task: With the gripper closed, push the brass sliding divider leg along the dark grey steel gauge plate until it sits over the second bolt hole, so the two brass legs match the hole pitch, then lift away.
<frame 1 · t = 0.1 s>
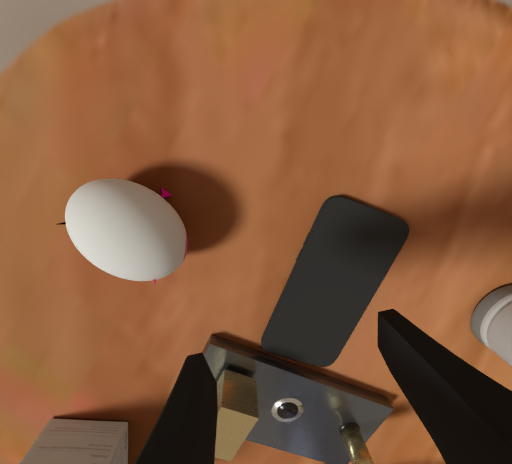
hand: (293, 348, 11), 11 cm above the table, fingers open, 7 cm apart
supplement box: (93, 442, 26), on the table
phone: (326, 285, 23), on the table
stress ball: (143, 224, 20), on the table
divider leg: (227, 413, 21), point 3 cm above the table, slide at 6.0 cm
gauge plate: (282, 401, 26), on the table
travel mug: (499, 311, 24), on the table
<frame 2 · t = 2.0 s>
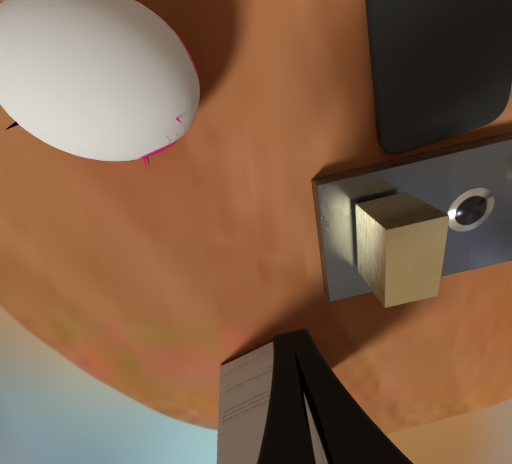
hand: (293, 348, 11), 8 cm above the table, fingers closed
supplement box: (273, 368, 24), on the table
stress ball: (133, 101, 13), on the table
divider leg: (395, 248, 15), point 3 cm above the table, slide at 6.0 cm
gauge plate: (454, 210, 18), on the table
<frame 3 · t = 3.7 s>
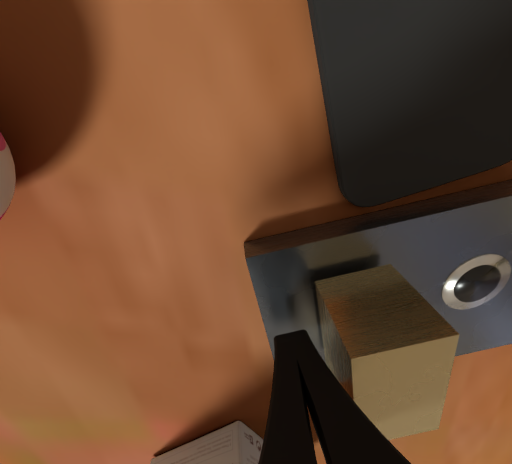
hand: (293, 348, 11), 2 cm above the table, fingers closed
supplement box: (224, 454, 19), on the table
divider leg: (374, 352, 10), point 3 cm above the table, slide at 5.6 cm, touching gripper
gauge plate: (453, 275, 13), on the table
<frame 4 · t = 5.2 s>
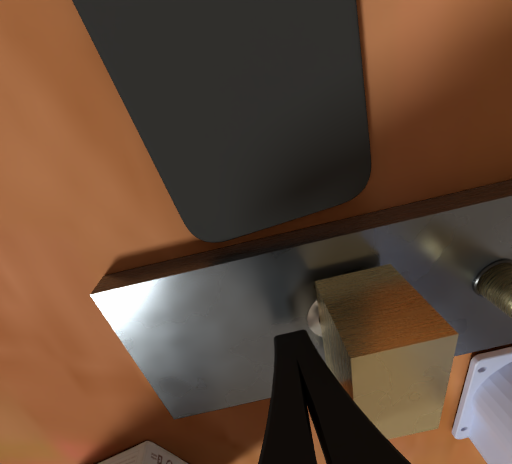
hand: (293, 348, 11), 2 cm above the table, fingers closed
divider leg: (373, 351, 10), point 3 cm above the table, slide at -0.5 cm, touching gripper
gauge plate: (331, 303, 13), on the table
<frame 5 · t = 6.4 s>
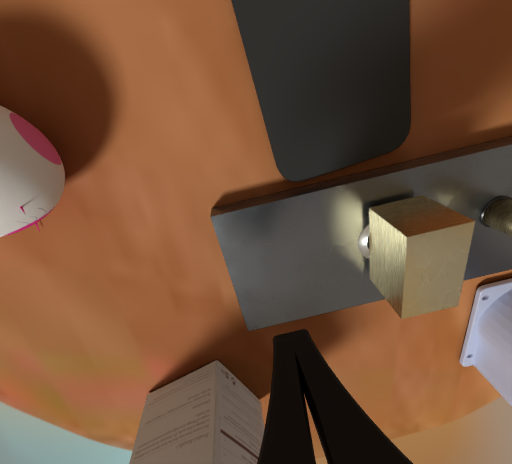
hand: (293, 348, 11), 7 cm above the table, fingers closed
supplement box: (207, 393, 23), on the table
phone: (315, 3, 12), on the table
stress ball: (16, 166, 13), on the table
divider leg: (412, 255, 14), point 3 cm above the table, slide at -0.5 cm
gauge plate: (372, 236, 17), on the table
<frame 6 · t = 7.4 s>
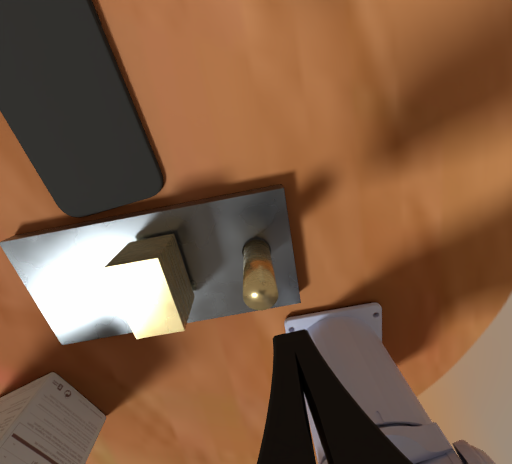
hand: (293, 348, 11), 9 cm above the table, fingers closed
supplement box: (55, 405, 25), on the table
phone: (64, 86, 16), on the table
divider leg: (155, 284, 16), point 3 cm above the table, slide at -0.5 cm
gauge plate: (165, 266, 20), on the table
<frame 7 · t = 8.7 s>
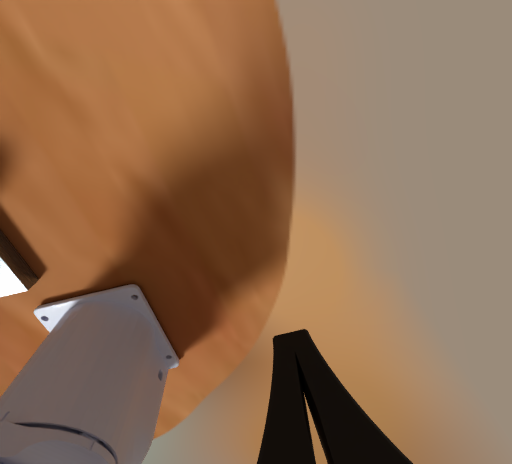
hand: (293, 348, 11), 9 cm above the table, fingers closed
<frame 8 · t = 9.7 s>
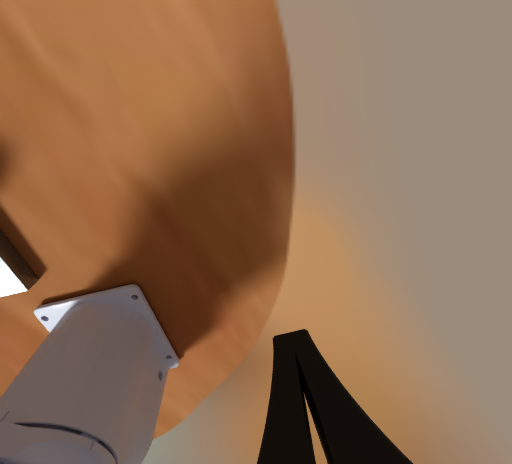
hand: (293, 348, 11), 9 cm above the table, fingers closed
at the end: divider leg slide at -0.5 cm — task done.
